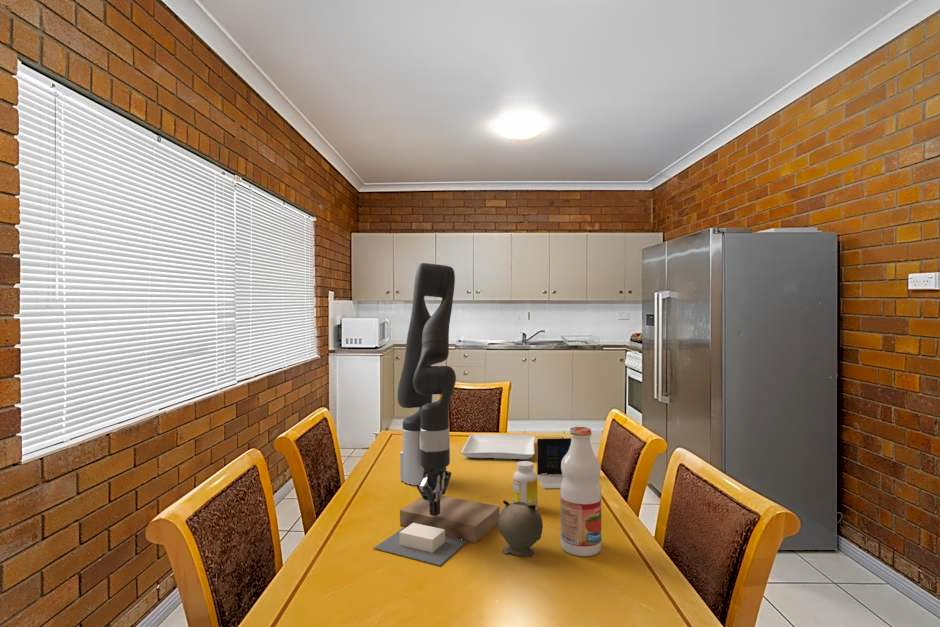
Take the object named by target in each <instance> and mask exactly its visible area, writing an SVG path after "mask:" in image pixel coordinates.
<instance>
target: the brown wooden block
mask: <svg viewBox="0 0 940 627" xmlns="http://www.w3.org/2000/svg"><path fill="white" fill-rule="evenodd" d="M500 513H501V508H500V506H499V505H494V504H489V503H484V502H479V501H473V500H467V499H462V498H458V497H452V496H447V495H442V498H441V500H440V514H439V515H437V516H432V515H430V512H429V501H427V500H424V499H423V497H422V496H421V497H419V498H417V499H416V500H415V501H412V502H411V503H409V504H407V505H406V506H405V507H403V508H401V509H399V525H402V526H401V527H404V526H406V527H408V526H409V525H411V524H412V523H417V524H421V525H426V526H431V527H436V528H440V529H445V536H448V537H452V538H457V539H462V540H465V541H468V542H469V541H470V542H469V543H474V544H477V543H478V542H479V541H480V540H482V538H483V537H485V535H487V534H488V533H489V532H490V531H491V530H492V529H493V528H494V527H495V526H497V525H498V519H499V516H500Z"/></svg>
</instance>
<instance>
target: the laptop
mask: <svg viewBox="0 0 940 627" xmlns="http://www.w3.org/2000/svg"><path fill="white" fill-rule="evenodd" d="M570 444H571V437H557V438H556V437H553V438H552V437H551V438H549V437H548V438H547V437H546V438H545V437H544V438H537V439H536V474H537V476H538V477H537V480H538V481H539V483H540V485H541V487H542V488H543V489H544V490H545V489H546V490H553V489H554V490H557V489H558V490H560V489H561V482H562V480H563V474H562V471H561V462H562V459H563V457H564V456H565V455H566V454H567V452H568V450H569V448H570Z"/></svg>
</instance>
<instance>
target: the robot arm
mask: <svg viewBox="0 0 940 627" xmlns="http://www.w3.org/2000/svg"><path fill="white" fill-rule="evenodd" d="M455 283H456V274H455V270H454V268H453V267H452V266H450V265H443V264H435V263H427V262H421V263H419V264H418V266H417V268H416V272H415V276H414V283H413V284H414V285H413V286H414V287H413V294H412V295H413V296H412V297H413V298H412V306H411V314H410V315H411V316H410V321H409V325H408V330H407V335H406V336H407V337H406V344H405V351H404V352H405V353H404V360H403V367H402V371H401V374H400V375H401V376H400V378H399V379H400V380H399V383H398V389H397V403H398V405H399V406H400V407H401V408H404V409H414V408H418V410H416V412H415V413H414V414H412V415H410V416H408V417H406V418H404V419H403V421H402V450H401V451H400V453H399V455H400V456H399V458H400V459H399V461H400V462H399V467H400V468H399V469H400V470H399V471H400V474H399V478H400V480H401V481H400V482H402V481H404V482H405V483H407V484H406V485H409V484H411V486H416V489H417V490H418V492H419V494H420V496H421V497H423V499H424V500H427V501H429V512H430V515H432V516H437V515H439V514H440V500H441V498H442V495H443V496H445V495H446V492H447V489H448V485H449V482H450V480H451V476H452V471H448V470H447V467H448V466H449V465H450V463H451V461H450V460H451V453H450V452H451V450H450V448H451V443H450V440H451V436H450V429H449V428H450V426H449V424H450V422H449V421H450V418H449V417H450V416H449V415H450V404H451V400H452V396H453V392H454V390H455V386H456V382H457V375H456V372H455V370H454V369H453V368H452V367H451V366H449V365H438V364H439V363H443V362H445V361H446V360H448V358H449V354H450V351H449V347H450V344H449V343H450V341H449V340H450V338H449V337H450V336H449V334H450V324H451V316H452V310H453V303H454V293H455V286H456V285H455ZM425 297H430V298H431V297H433V298H441V302H440V304H439V305H438V307H437V309H436V310H435V311H434V312H433V314H432V315H431V314H430V311H429V310H428V308H427V304H426V301H425ZM436 364H437V365H436ZM433 395H440V396H441V397H440V398H439V399H438V400H436V401H433ZM404 482H403V483H404ZM405 483H404V484H405Z"/></svg>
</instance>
